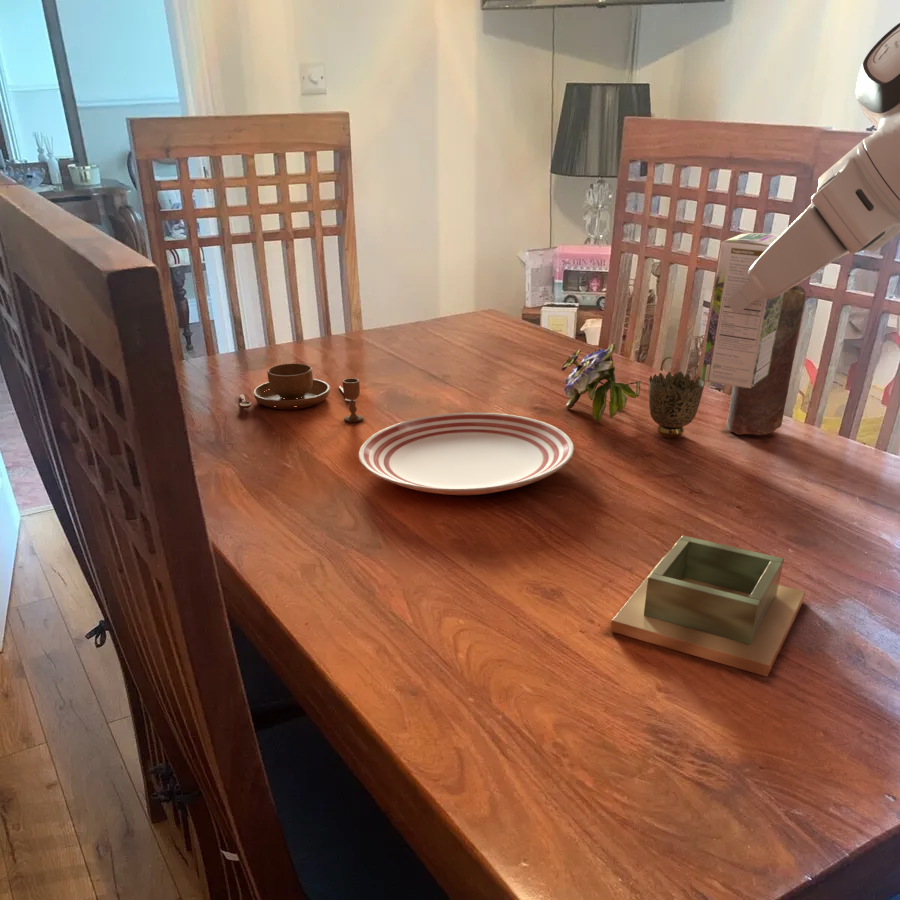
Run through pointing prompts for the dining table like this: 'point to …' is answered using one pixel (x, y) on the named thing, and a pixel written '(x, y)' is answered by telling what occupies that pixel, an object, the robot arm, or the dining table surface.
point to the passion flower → (591, 375)
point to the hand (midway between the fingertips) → (741, 299)
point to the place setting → (300, 390)
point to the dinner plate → (466, 453)
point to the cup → (674, 402)
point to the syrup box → (740, 318)
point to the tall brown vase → (770, 376)
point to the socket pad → (714, 605)
